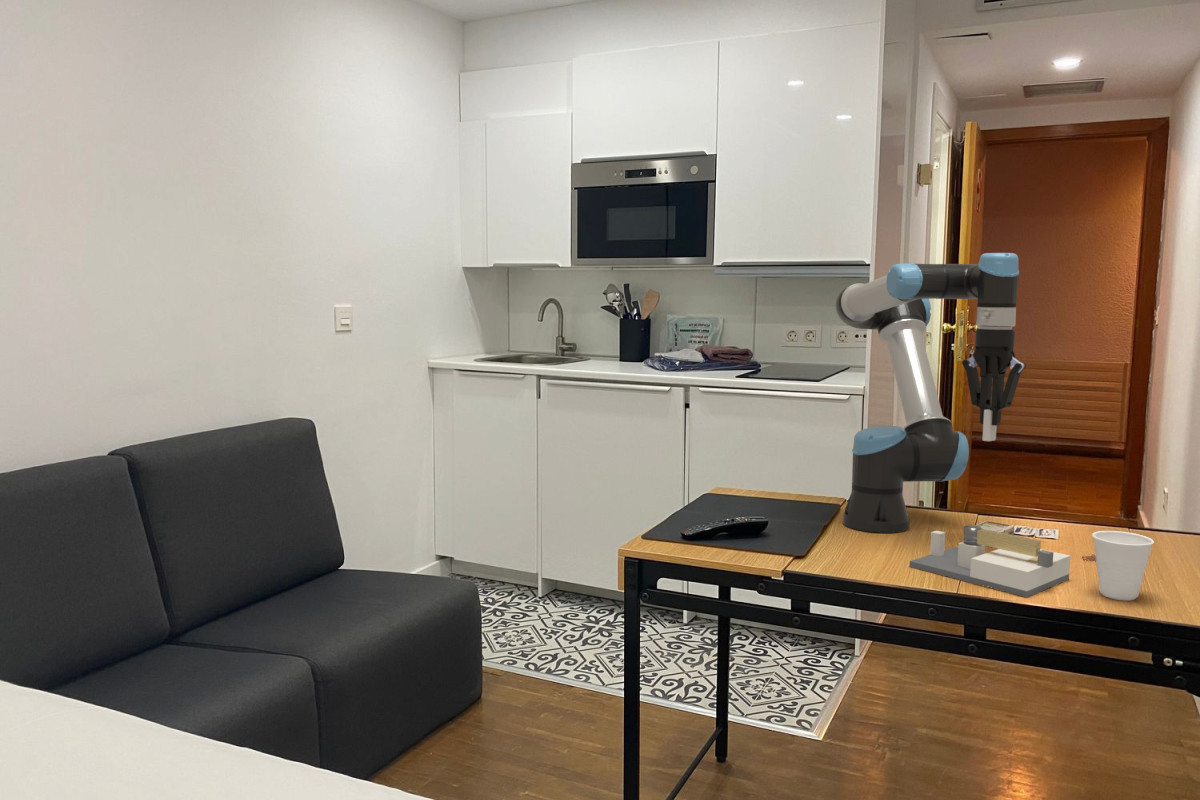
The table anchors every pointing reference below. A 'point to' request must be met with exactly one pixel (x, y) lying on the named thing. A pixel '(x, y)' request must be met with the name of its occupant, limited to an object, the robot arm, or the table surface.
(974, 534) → the latch bar
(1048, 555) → the door board
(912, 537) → the table surface
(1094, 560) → the key
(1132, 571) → the cup
